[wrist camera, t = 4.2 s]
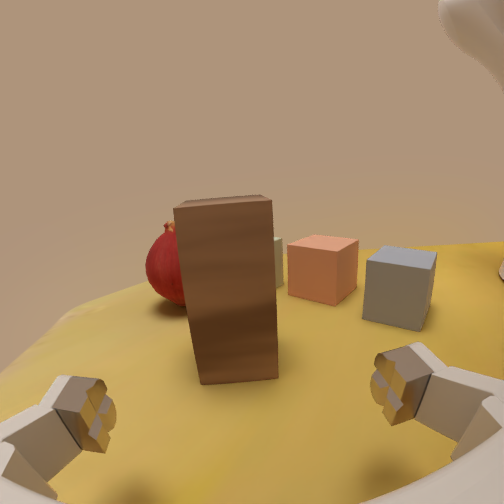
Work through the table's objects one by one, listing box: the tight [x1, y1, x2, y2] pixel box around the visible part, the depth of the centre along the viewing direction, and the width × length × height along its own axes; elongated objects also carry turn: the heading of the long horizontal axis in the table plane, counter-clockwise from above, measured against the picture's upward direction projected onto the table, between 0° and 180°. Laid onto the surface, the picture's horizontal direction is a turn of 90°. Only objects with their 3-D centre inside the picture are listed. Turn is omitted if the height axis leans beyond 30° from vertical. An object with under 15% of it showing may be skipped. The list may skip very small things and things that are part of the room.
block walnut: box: [173, 195, 278, 385], centre depth 16 cm, size 4×4×10 cm
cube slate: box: [362, 246, 437, 332], centre depth 21 cm, size 5×5×5 cm
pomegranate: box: [146, 221, 186, 306], centre depth 25 cm, size 6×6×8 cm
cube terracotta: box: [287, 234, 359, 306], centre depth 27 cm, size 5×5×5 cm
